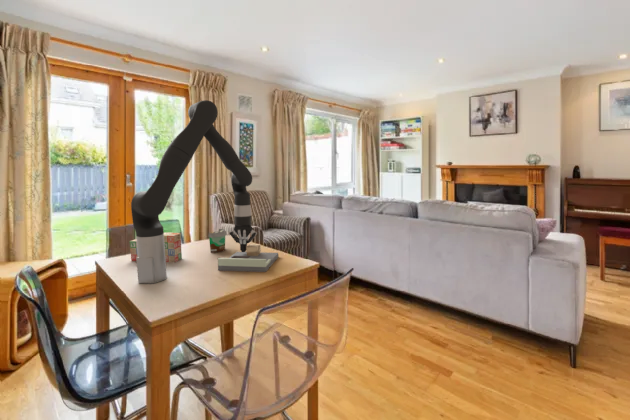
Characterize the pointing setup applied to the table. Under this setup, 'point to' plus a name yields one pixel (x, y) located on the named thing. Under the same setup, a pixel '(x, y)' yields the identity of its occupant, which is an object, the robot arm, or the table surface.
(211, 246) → the food container
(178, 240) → the stack of blocks
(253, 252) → the maple block
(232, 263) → the grey panel with windows
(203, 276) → the table surface
